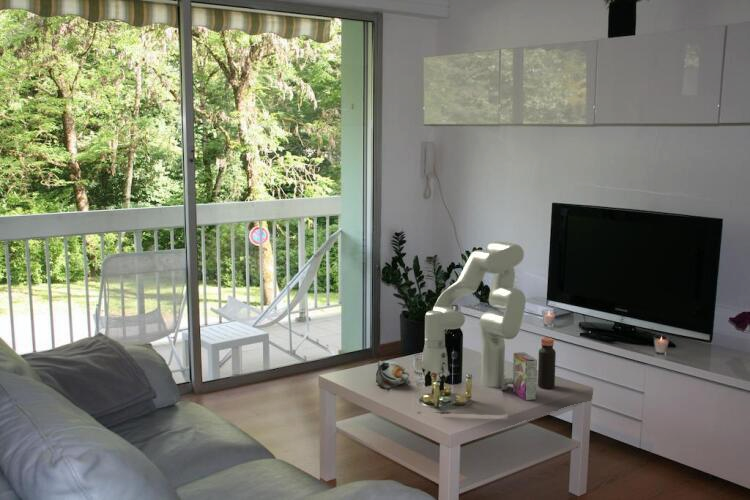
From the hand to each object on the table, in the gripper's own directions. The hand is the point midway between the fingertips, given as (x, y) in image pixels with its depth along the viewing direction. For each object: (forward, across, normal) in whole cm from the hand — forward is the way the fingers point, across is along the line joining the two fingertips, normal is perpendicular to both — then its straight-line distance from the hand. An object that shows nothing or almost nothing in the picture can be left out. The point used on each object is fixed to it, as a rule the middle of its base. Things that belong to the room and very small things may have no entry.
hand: (434, 387), depth 302 cm
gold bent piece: (+4, -11, -5) cm, 13 cm away
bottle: (+6, -16, -48) cm, 51 cm away
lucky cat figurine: (+6, +25, 0) cm, 26 cm away
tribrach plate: (+6, -5, -1) cm, 8 cm away
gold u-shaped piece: (+4, 0, -4) cm, 5 cm away
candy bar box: (+6, -18, -32) cm, 37 cm away
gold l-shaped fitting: (+4, -6, +6) cm, 9 cm away
